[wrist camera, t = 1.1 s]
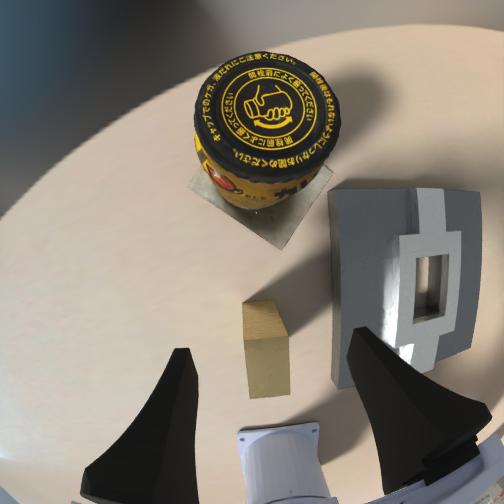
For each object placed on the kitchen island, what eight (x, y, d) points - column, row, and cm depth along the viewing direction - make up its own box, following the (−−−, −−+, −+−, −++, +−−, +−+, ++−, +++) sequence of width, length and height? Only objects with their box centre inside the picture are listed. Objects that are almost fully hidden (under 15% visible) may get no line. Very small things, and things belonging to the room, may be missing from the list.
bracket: (442, 359, 21) (447, 363, 20) (384, 378, 21) (389, 383, 20) (451, 190, 19) (458, 189, 18) (389, 188, 19) (396, 187, 18)
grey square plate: (459, 341, 23) (470, 347, 21) (331, 377, 22) (337, 389, 20) (467, 193, 21) (479, 191, 19) (327, 191, 21) (335, 189, 19)
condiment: (242, 112, 20) (246, 10, 8) (332, 173, 20) (423, 129, 9) (187, 187, 20) (124, 147, 8) (280, 250, 21) (331, 287, 9)
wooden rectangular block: (275, 346, 22) (290, 394, 15) (246, 349, 22) (249, 399, 15) (273, 300, 21) (288, 335, 14) (242, 303, 21) (243, 340, 14)
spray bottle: (475, 463, 28) (529, 524, 3) (451, 478, 27) (504, 547, 3) (490, 439, 27) (553, 500, 2) (466, 454, 27) (530, 526, 2)
